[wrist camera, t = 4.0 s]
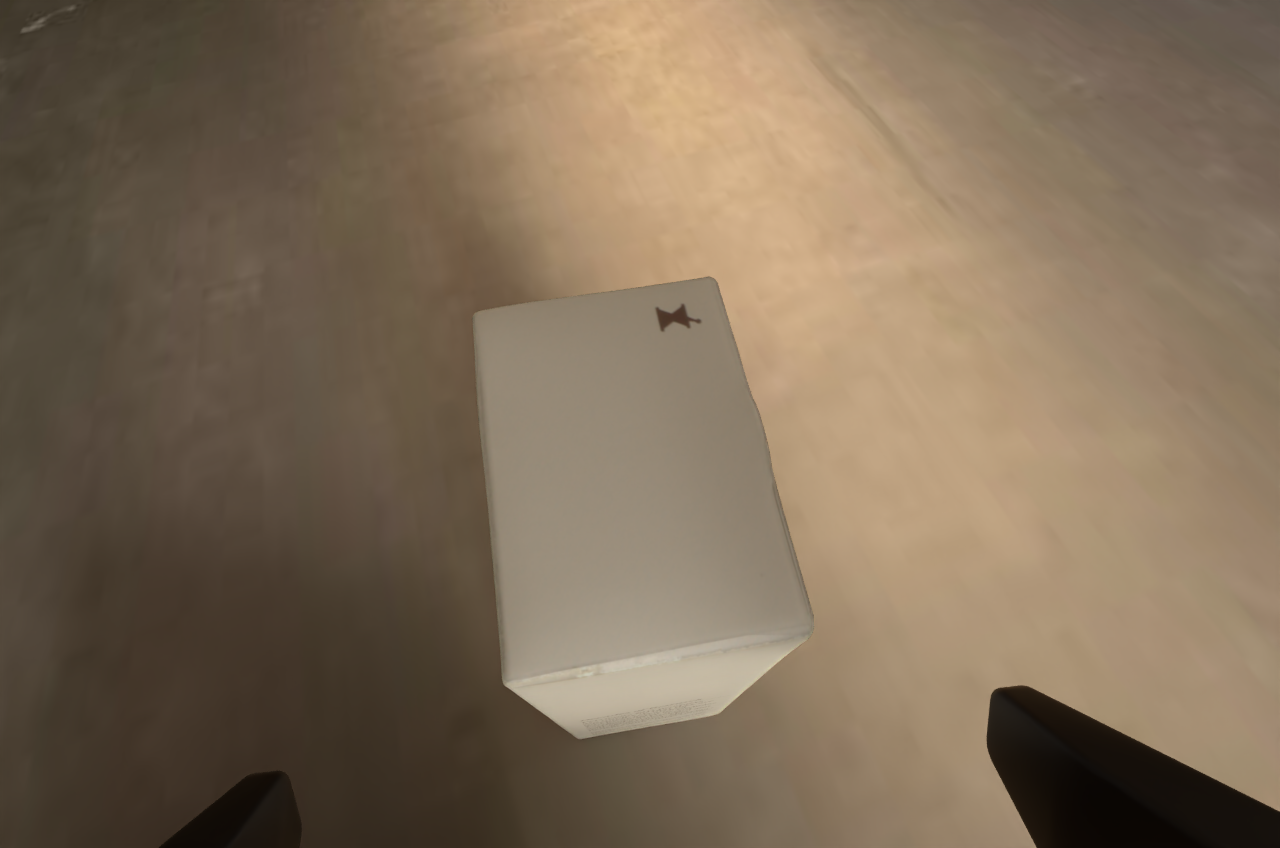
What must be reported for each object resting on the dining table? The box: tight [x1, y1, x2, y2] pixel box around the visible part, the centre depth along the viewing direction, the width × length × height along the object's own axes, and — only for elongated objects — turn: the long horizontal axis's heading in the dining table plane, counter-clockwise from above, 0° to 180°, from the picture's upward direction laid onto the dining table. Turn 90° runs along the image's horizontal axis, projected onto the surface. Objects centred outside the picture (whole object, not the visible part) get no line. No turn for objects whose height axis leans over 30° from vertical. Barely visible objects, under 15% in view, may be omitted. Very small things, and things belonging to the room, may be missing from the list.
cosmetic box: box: [472, 277, 814, 739], centre depth 15 cm, size 6×4×12 cm
